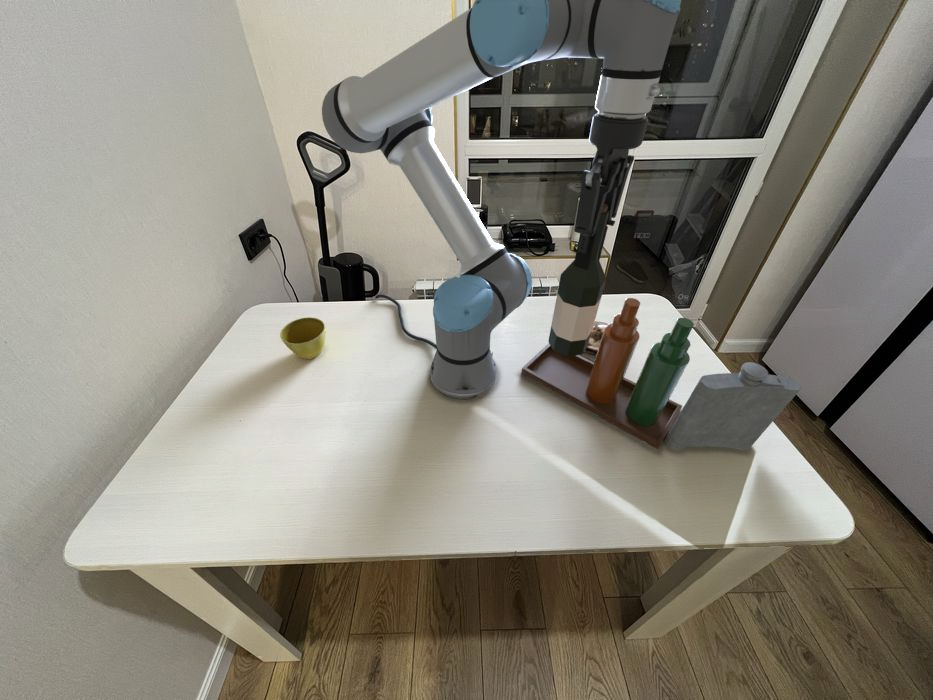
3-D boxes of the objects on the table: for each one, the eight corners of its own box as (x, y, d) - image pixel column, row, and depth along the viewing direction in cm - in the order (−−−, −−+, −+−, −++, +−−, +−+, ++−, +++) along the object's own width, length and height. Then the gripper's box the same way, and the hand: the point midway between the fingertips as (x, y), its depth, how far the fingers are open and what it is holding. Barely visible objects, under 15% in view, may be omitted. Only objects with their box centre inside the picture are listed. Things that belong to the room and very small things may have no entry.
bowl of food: (558, 349, 95) (560, 336, 92) (576, 318, 104) (579, 306, 102) (618, 369, 89) (623, 357, 86) (631, 335, 99) (635, 322, 96)
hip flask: (667, 450, 73) (712, 378, 59) (660, 433, 76) (701, 360, 62) (751, 452, 72) (815, 380, 59) (740, 434, 75) (798, 362, 62)
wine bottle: (588, 359, 78) (629, 217, 58) (547, 353, 79) (574, 213, 59) (586, 334, 84) (624, 198, 64) (549, 329, 85) (574, 194, 65)
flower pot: (298, 372, 89) (288, 349, 84) (283, 350, 95) (274, 328, 90) (338, 354, 93) (331, 332, 89) (322, 334, 99) (314, 312, 95)
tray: (520, 375, 88) (521, 368, 86) (549, 348, 95) (550, 341, 94) (656, 451, 72) (660, 445, 71) (678, 412, 80) (682, 405, 78)
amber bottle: (580, 394, 83) (607, 303, 67) (594, 378, 86) (622, 288, 70) (608, 408, 79) (643, 317, 63) (620, 391, 83) (657, 300, 67)
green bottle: (619, 415, 78) (658, 323, 62) (632, 397, 82) (672, 306, 66) (650, 432, 75) (700, 339, 59) (662, 412, 79) (711, 321, 63)
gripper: (622, 127, 47) (583, 288, 62) (669, 108, 56) (625, 253, 72) (568, 118, 50) (544, 273, 66) (620, 102, 60) (589, 241, 75)
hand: (586, 262), depth 69 cm, fingers closed on wine bottle, 3 cm apart
